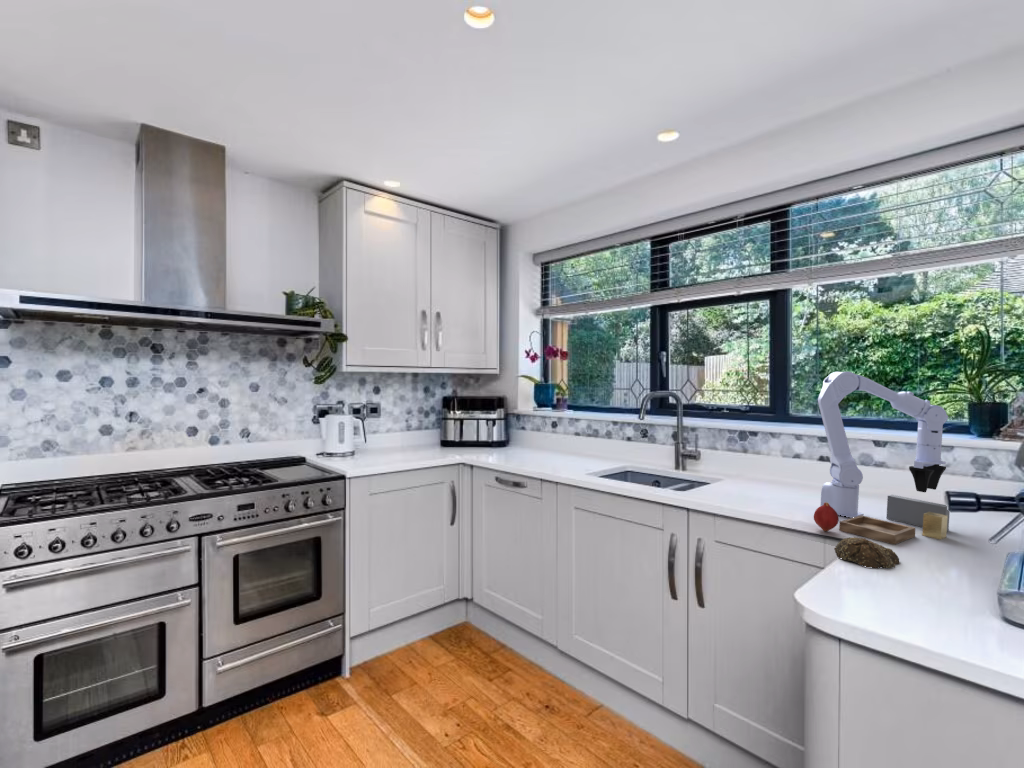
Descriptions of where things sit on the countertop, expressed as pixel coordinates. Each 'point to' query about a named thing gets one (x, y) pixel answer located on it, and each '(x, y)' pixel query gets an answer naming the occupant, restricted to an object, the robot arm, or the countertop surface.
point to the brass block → (935, 525)
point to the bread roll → (866, 553)
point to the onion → (826, 517)
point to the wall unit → (912, 510)
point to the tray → (877, 529)
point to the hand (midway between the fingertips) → (926, 490)
